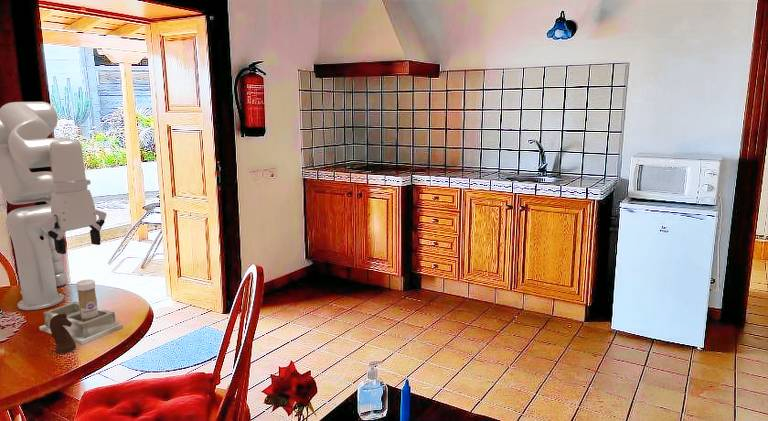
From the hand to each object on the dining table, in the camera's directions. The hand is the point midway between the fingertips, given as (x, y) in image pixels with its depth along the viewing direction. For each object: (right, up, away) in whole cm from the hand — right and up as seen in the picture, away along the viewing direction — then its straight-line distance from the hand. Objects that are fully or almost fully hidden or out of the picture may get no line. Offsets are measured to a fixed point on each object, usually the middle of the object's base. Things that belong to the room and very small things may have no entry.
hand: (79, 248), depth 147 cm
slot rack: (-3, -23, +7) cm, 25 cm away
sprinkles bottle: (+1, -23, +5) cm, 23 cm away
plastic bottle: (-32, -16, +43) cm, 56 cm away
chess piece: (0, -26, -6) cm, 27 cm away
